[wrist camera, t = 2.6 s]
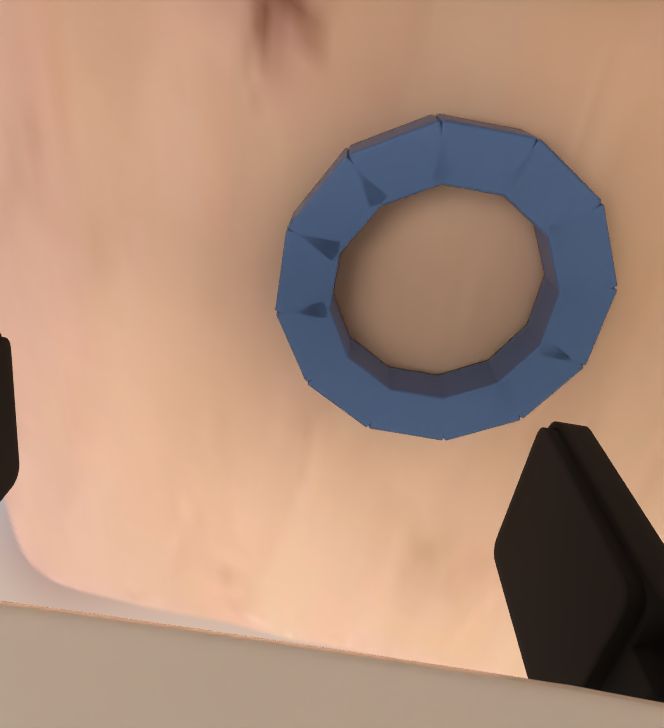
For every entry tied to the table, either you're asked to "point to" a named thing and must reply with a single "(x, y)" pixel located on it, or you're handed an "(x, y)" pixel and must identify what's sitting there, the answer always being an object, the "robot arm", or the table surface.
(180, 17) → the table surface
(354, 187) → the ring
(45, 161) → the table surface
